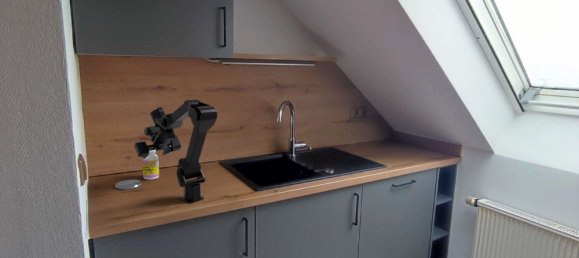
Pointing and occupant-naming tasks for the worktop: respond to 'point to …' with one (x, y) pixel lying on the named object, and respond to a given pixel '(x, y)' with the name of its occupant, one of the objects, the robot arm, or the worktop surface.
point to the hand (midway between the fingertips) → (153, 156)
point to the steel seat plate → (128, 184)
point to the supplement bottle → (151, 166)
